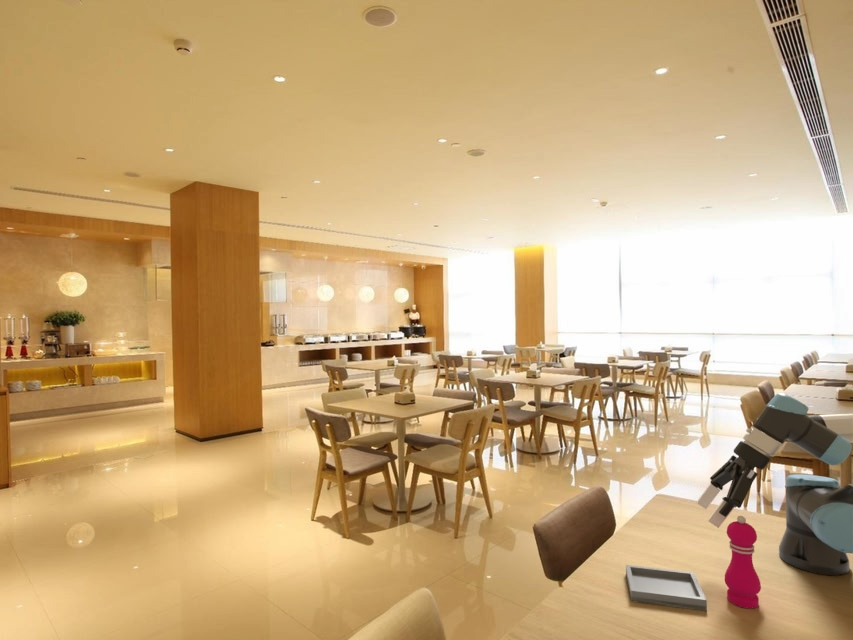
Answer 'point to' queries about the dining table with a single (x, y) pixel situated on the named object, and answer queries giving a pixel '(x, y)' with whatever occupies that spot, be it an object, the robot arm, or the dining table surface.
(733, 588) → the pepper mill
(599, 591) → the dining table surface
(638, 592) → the tray
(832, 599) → the dining table surface
